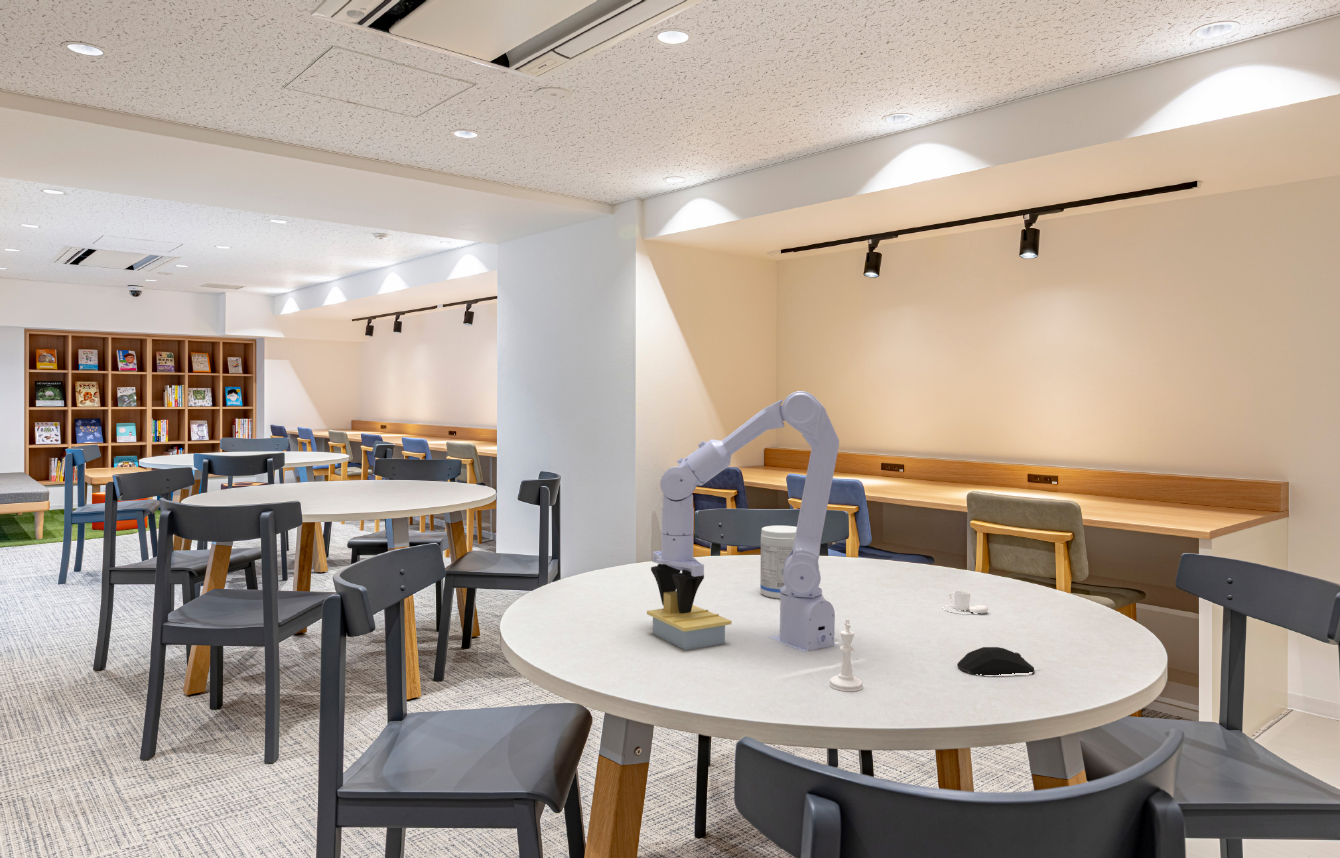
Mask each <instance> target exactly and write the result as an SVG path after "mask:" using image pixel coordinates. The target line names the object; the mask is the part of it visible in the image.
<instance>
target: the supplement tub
mask: <svg viewBox="0 0 1340 858" xmlns="http://www.w3.org/2000/svg"><path fill="white" fill-rule="evenodd" d="M796 529H797V526H792V525H767V526H764V527H762V528H761V532H760V533H761V534H760V584H759V585H760V590H759V591H760V593H761V594H762V595H763V596H765V597H766V598H767V597H768V598H770V599H771V598H772V599H778V600H780V593H781V591H780V590H781V588H782V587H783V586H784V585H785V584H784V580H783V573H784V562H785V559H786V558H787V556H788V555H789V554H790V552H791V550H792V547H793V542H794V538H795V534H796Z"/></svg>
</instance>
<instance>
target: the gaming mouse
mask: <svg viewBox="0 0 1340 858" xmlns="http://www.w3.org/2000/svg"><path fill="white" fill-rule="evenodd" d="M957 668H958V669H959V668H960V669H959V670H961V671H962V672H964V671H966V672H965V673H967V672H969V673H968V674H970V673H973V674H978V675H980V674H982V675H999V674H1000V675H1001V674H1012V673H1014V674H1015V673H1029V672H1033V671H1034V668H1035V667H1034V666H1033V665H1031V663H1029V662H1028V661H1027V660H1025V658H1024V657H1022V655H1021V653H1019V652H1013V651H1012V650H1009V649H1006V648H1004V647H998V646H983V647H980V648H977V649H975V650H972V651H970V652H969V651H968V652H967V653H966V654H965V655H964V656H963V657H962V658H961V659H960V660H959V661H958V662H957ZM1034 672H1035V671H1034ZM1034 672H1033V673H1034ZM973 674H972V675H973Z"/></svg>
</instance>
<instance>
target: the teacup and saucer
mask: <svg viewBox="0 0 1340 858" xmlns="http://www.w3.org/2000/svg"><path fill="white" fill-rule="evenodd" d="M952 594H953V597H954V598H953V599H954V600H953V599H952ZM948 597H949V599H950V602H951V604H952V605H954V606H955V607H954V608H955V609H957V610H956V611H958V610H967V611H969V612H970V613H971V612H973V613H981V614H986V613H987V612H988V611H989V606H987V605H984V604H983V605H981V604H980V605H978V604H977V605H972V606H971V605H970V601H971V592H969V591H965V590H955V591H952V592H950V593H949V595H948ZM948 605H949V604H946V605H944V606H948ZM969 606H971V607H970V608H969ZM942 608H944V607H943V606H942V607H941V609H942ZM942 611H945V609H942ZM950 611H951V610H950ZM950 611H949V612H948V613H950Z"/></svg>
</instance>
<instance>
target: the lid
mask: <svg viewBox="0 0 1340 858" xmlns="http://www.w3.org/2000/svg"><path fill="white" fill-rule="evenodd" d="M646 615H648V616H650V617H652V618H653V617H654V618H656V619H658V620H660V621H663V622H665V623H667V624H669V625H671V626H673V627H675V628H677V629H679V630H682V631H684V632H685V631H692V630H698V629H704V628H711V627H717V626H724V625H725V626H729V625H732V624H733V623H732V620H731V619H728V618H726V617H723V616H720V614H719V613H713V612H711V611H709V609H704V608H701V607H699V606H697V605H694V604H693V606H692V610H691V612H689V613H682V614H681V613H679V609H678V599H677V591H673V592H665V593H664V606H663V608H658V609H657V608H656V609H651V610H650V609H649V610H646Z"/></svg>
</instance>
